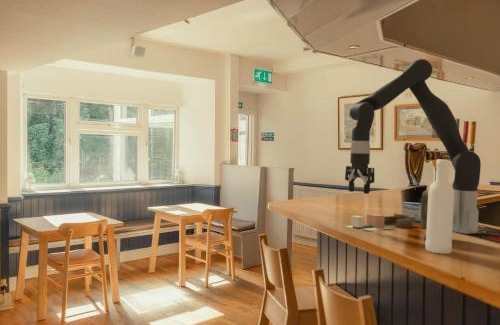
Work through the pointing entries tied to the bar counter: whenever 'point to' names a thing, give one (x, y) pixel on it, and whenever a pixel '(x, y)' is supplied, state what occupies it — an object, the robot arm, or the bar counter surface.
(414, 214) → the medicine box
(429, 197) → the bottle
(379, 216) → the pull block
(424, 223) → the tabletop clock
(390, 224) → the shelf lane
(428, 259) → the bar counter surface
